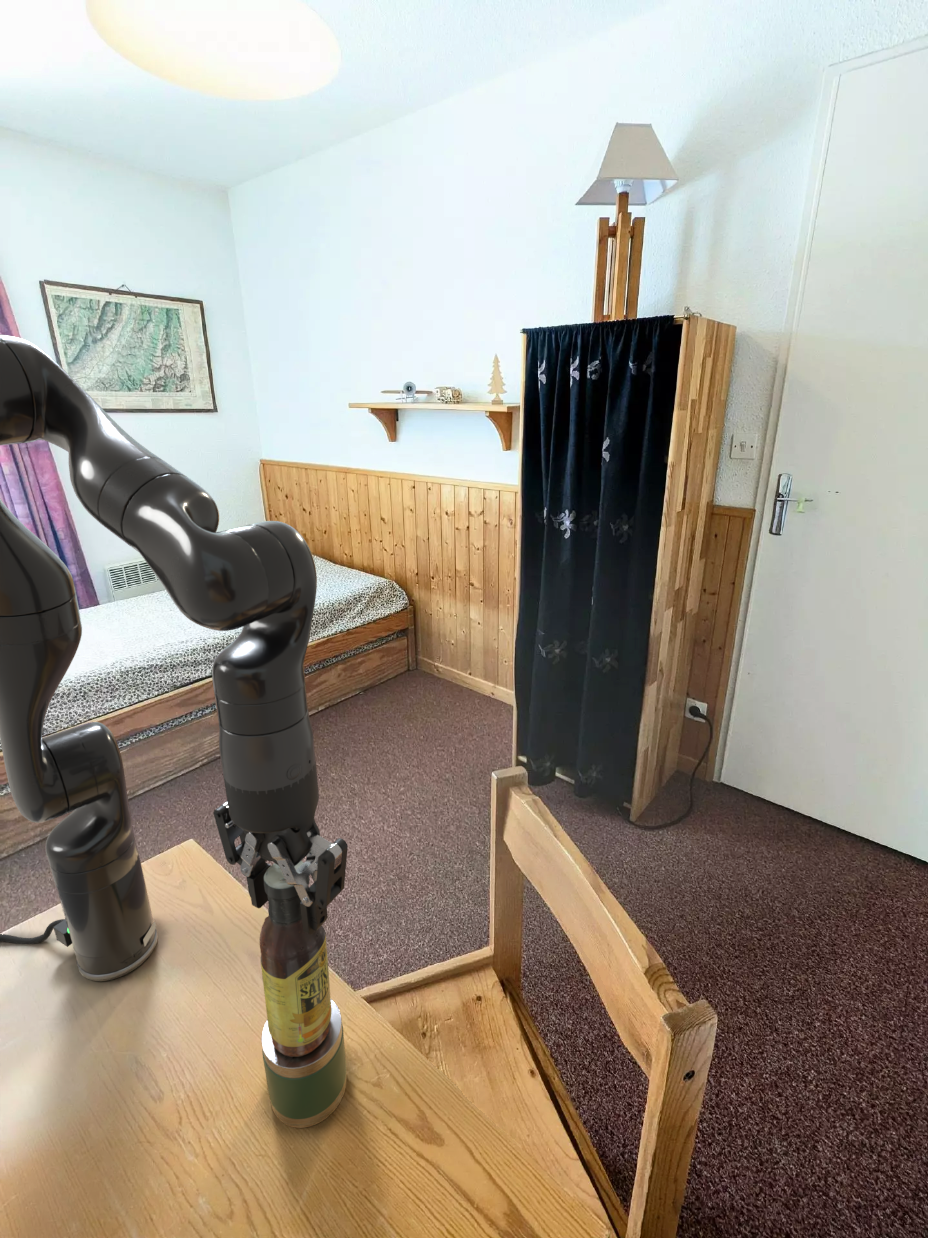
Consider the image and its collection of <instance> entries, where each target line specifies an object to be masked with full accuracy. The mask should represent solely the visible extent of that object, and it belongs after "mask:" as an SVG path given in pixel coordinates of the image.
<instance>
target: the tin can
mask: <svg viewBox="0 0 928 1238" xmlns="http://www.w3.org/2000/svg"><path fill="white" fill-rule="evenodd" d="M331 1009H332V1013H331V1019H330V1028H329V1032H328V1034H327V1035H326V1038H325V1040H324V1041H323V1042H322V1043H321V1044H320V1045H319V1046H318V1047H317V1048H316V1049H314V1050H313V1051H312V1052H310V1053H308V1054H306V1055H303V1056H300V1057H290V1056H287V1055H286V1056H285V1055H283V1054H282V1053H280V1052H279V1051H278V1050H277V1049H276V1048H275V1047H274V1045H273V1043H272V1038H271V1034H270V1032H269V1028H268V1019H267V1018H266V1021H265V1023H264V1025H263V1028H262V1031H261V1048H262V1049H261V1050H262V1051H261V1052H262V1061H263V1067H264V1073H265V1078H266V1079H265V1080H266V1086H267V1091H268V1097H269V1101H270V1105H271V1109H272V1112H273V1114H274V1115H275V1117H276V1118H277V1119H278V1120H279V1121H280V1122H281V1123H283V1124H284V1125H286V1126H287V1127H290V1128H296V1129H304V1128H305V1129H306V1128H310V1127H313V1126H316V1125H318V1124H320V1123H321V1122H322V1123H323V1122H324V1120H327V1118H329V1117H330V1116H331V1115H332V1114H333V1112H335V1110H337V1108H338V1107H339V1105H340V1103H341V1102H342V1099H343V1098H344V1095H345V1092H346V1088H347V1079H348V1078H347V1071H348V1069H347V1058H346V1057H347V1056H346V1047H345V1034H344V1026H343V1022H342V1014H341V1011H340V1008H339V1006H338V1005H337V1003H336V1002H335V1001H334V999H332V998H331Z"/></svg>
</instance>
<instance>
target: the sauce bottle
mask: <svg viewBox="0 0 928 1238" xmlns="http://www.w3.org/2000/svg"><path fill="white" fill-rule="evenodd" d="M304 862H305V861H303V860H301V861H300V862H299V863H298V864H297V865H296V866H294V867H295V869H296V870H297V869H298V868H299V867H300V866H301V865H302V864H303V863H304ZM306 881H307V884H308V886H309V885H310V882H311V878H310V876H309V877H308V878H307V880H306ZM264 887H265V892H266V894H267V895H268V901H267V904H268V908H267V909H268V910H267V911H268V915H267V916H266V917H265V918H264V921H263V923H262V925H261V928H260V933H259V949H260V967H261V968H260V970H261V977H262V985H263V986H262V987H263V994H264V1002H265V1011H266V1020H267V1019H268V1028H269V1032H270V1034H271V1038H272V1043H273V1045H274V1047H275V1048H276V1049H277V1050H278V1051H279V1052H280V1053H282V1054H283V1055H285V1056H286V1055H287V1056H290V1057H300V1056H303V1055H306V1054H308V1053H310V1052H312V1051H313V1050H314V1049H316V1048H317V1047H318V1046H319V1045H320V1044H321V1043H322V1042H323V1041H324V1040H325V1038H326V1035H327V1034H328V1032H329V1028H330V1019H331V1013H332V1009H331V999H332V996H331V985H330V972H329V958H328V948H327V947H328V946H327V945H328V944H327V933H326V929H325V928H324V927H323V925H322V926H321V927H320V928H319V929H318V930H317V931H315V932H314V933H313V934H312V935H309V934H307V933H305V932H304V931H303V924H302V915H301V906H300V902H301V900H300V897H299V895H298V893H297V891H296V889H295V887H294V885H289V884H287V882H286V880H285V878H284V875H283V873H282V871H281V869H280V867H279V866H278V865H277V864H276V863H274V862H273V864H271V866H270V867H269V868H268V869H267V871H266V873H265V875H264Z"/></svg>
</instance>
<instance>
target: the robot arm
mask: <svg viewBox="0 0 928 1238" xmlns="http://www.w3.org/2000/svg"><path fill="white" fill-rule="evenodd" d="M36 441H45V442H48V443H49V444H52V445H55V446H56V447H58V448H60V449H63V450H64V451H66V452H67V454H68V471H69V472H68V473H69V480H70V484H71V487H72V489H73V492H74V495H75V496H76V497H77V499H78V501H79V502H80V504H81V505H82V508H84V509H85V511H87V513H88V514H89V515H90V516H91V517H92V518H94V519H95V520H96V521H97V522H98V523H99V524H100V525H102V526H103V527H104V528H106V529H107V530H108V531H110V532H111V533H112V534H114V535H115V536H116V537H117V538H119V539H120V540H121V541H123V542H124V543H125V544H127V545H128V546H129V547H131V548H132V549H133V550H135V551H136V552H137V553H139V554H140V556H141V557H142V558H143V559H144V561H145V562H146V564H147V565H148V567H149V569H150V570H151V571H152V572H153V574H154V575H155V577H156V578H157V580H158V581H159V582H160V584H161V586H163V589H164V590H165V591H166V593H167V594H168V596H169V597H170V599H171V601H172V602H173V604H174V605H175V607H176V608H177V609H178V610H179V611H180V613H181V614H183V616H184V617H185V618H187V619H188V620H189V621H191V622H192V623H195V624H196V625H198V626H200V627H203V628H206V629H209V630H213V631H218V632H219V631H220V632H228V631H229V632H230V631H233V630H239V629H240V628H241V629H242V630H241V631H240V633H239V635H238V636H237V637H236V638H235V639H234V640H233V641H232V642H230V644H228V645H227V646H226V647H224V648H223V650H221V651H220V652H219V653H218V655H217V656H216V657H215V658H214V660H213V662H212V667H211V678H212V680H211V681H212V687H213V693H214V694H213V695H214V701H215V709H216V714H217V715H216V716H217V721H218V749H219V757H220V764H221V770H222V776H223V777H222V778H223V783H224V789H225V796H226V801H224V802H223V803H222V804H220V805H219V806H218V807H216V808H215V809H214V810H213V817H214V820H215V825H216V828H217V831H218V834H219V838H220V841H221V846H222V849H223V852H224V857H225V860H226V861H227V863H228V864H230V865H231V866H234V865H235V864H238V865H239V870H240V872H241V874H242V875H243V876H244V877H246V884H247V891H248V894H249V895H248V896H249V898H250V901H251V906H253V907H255V908H257V909H261V908H262V907H263V906H265V904H267V903H268V895H267V894H266V892H265V887H264V875H265V873H266V871H267V869H268V868H269V867H270V866H272V864H270V863H268V862H271V863H273V864H274V863H276V864H277V865H278V866H279V867H280V869H281V871H282V873H283V875H284V878H285V880H286V882H287V884H289V885H294V887H295V889H296V891H297V893H298V895H299V897H300V900H301V902H300V906H301V915H302V924H303V931H304V932H305V933H307V934H309V935H312V934H313V933H314V932H315V931H317V930H318V929H319V928H320V927H321V926H323V925H324V923H325V922H327V920H328V917H329V915H328V906H329V905H330V904H331V903H332V902H333V901H334V900H335V899H336V898H337V897H338V895H339V894H341V892H342V891H343V890H344V889H345V881H346V871H347V859H348V848H349V847H348V843H347V841H345V840H344V838H341V837H338V838H337V839H336V840H335V841H334V842H331V841H329V840H328V839H326V838H324V837H323V836H321V831H320V828H319V826H318V824H317V822H316V820H315V815H316V811H317V807H318V804H319V800H320V797H319V796H320V792H319V783H318V782H319V781H318V769H317V759H316V751H315V750H316V749H315V737H314V731H313V725H312V721H311V717H310V713H309V706H308V698H307V697H308V696H307V687H306V686H307V685H306V684H307V683H306V675H305V673H306V672H305V667H304V666H305V664H304V663H305V659H306V654H307V650H308V646H309V642H310V635H311V629H312V625H313V624H312V623H313V617H314V611H315V606H316V598H317V588H318V579H317V578H318V576H317V567H316V563H315V560H314V556H313V553H312V551H311V548H310V547H309V545H308V543H307V541H306V539H304V536H303V535H301V533H300V532H299V531H298V530H297V529H295V528H294V527H293V526H291V525H289V524H288V523H286V522H283V521H278V520H263V521H259V522H254V523H251V524H247V525H243V526H237V527H234V528H229V529H225V530H221V531H218V529H219V524H220V512H219V507H218V504H217V503H216V501H215V500H214V498H213V496H212V495H210V493H209V492H208V491H206V489H204V488H203V487H202V486H201V485H200V484H198V483H197V482H196V481H194V480H193V479H191V478H189V477H188V476H187V475H185V473H183V472H181V471H179V470H178V469H177V468H176V467H174V466H172V464H170V463H168V462H167V461H165V460H163V459H162V458H161V457H159V456H158V455H156V454H155V453H153V452H152V451H151V450H149V449H148V448H146V447H145V446H143V445H142V444H140V442H138V441H137V440H136V439H135V438H134V437H132V436H131V435H130V434H129V433H128V432H126V431H125V430H124V429H123V428H122V427H121V426H120V425H119V424H118V423H117V422H116V421H115V420H114V419H113V418H112V417H111V416H110V415H109V414H108V413H107V412H106V411H105V410H104V409H103V408H102V406H100V404H99V403H98V402H97V401H96V400H95V399H94V398H93V397H92V396H91V395H90V394H89V393H88V392H87V391H86V390H85V389H84V388H82V386H81V385H80V384H79V383H78V382H77V381H76V380H75V379H74V378H73V377H72V376H71V375H70V374H69V373H68V372H67V371H66V370H65V369H64V368H63V366H61V365H60V364H59V363H57V361H56V360H54V359H53V357H51V356H50V355H49V354H47V352H45V351H44V350H43V349H41V348H40V347H39V346H37V345H36V344H34V343H32V342H31V341H29V340H27V339H25V338H22V337H17V336H13V335H7V334H2V333H1V334H0V446H7V445H19V444H20V445H21V444H29V443H33V442H36ZM74 582H75V581H74V578H73V575H72V573H71V571H70V570H69V568H68V567H67V565H66V564H65V563H64V562H63V560H61V558H60V557H59V556H58V555H57V553H55V552H54V551H53V550H52V549H51V548H50V547H49V546H48V545H47V544H46V543H44V542H43V540H41V538H39V537H38V536H37V535H36V534H35V533H34V532H32V530H30V529H29V528H28V527H27V526H26V525H25V524H23V522H21V521H20V519H18V517H16V516H15V514H14V513H13V512H12V511H11V510H10V509H9V508H8V506H7V505H6V504H5V503H4V502H3V501H2V499H1V498H0V746H1V751H2V757H3V763H4V768H5V773H6V777H7V781H8V786H9V791H10V793H11V796H12V797H11V798H12V799H13V803H14V804H15V806H16V808H17V810H18V812H19V814H20V815H21V816H22V817H23V818H25V819H26V820H27V821H29V822H31V823H36V824H37V823H38V824H40V823H44V822H48V821H52V820H54V819H57V818H60V817H62V816H65V815H67V816H66V817H65V818H63V819H62V820H61V821H60V822H59V823H58V824H56V825H55V827H53V829H52V830H50V832H49V834H48V836H47V838H46V841H45V846H44V847H45V855H46V857H47V858H46V859H47V861H48V865H49V868H50V872H51V876H52V879H53V882H54V886H55V888H56V891H57V896H58V899H59V903H60V905H61V909H62V912H63V916H64V918H61V919H56V920H54V921H52V922H51V923H49V924H48V925H47V926H46V928H45V930H44V932H43V934H40V935H38V936H35V937H34V936H33V937H22V936H15V935H10V934H4V933H0V942H3V943H4V942H5V943H11V944H15V945H35V944H39V943H42V942H44V941H46V940H47V939H48V938H49V937H50V936H51V934H52V933H53V931H54V935H55V938H56V940H57V941H58V942H60V943H61V944H62V945H63V946H66V947H67V948H68V947H69V946H71V945H72V947H73V951H74V955H75V958H76V965H77V969H78V972H79V973H80V975H81V976H82V977H83V978H84V979H87V980H89V981H94V982H107V981H110V980H114V979H115V980H116V979H118V978H120V977H123V976H125V975H127V974H130V973H131V972H133V971H134V970H136V969H138V968H139V967H140V966H141V965H142V964H144V963H145V962H146V961H147V960H148V958H149V957H150V956H151V955H152V953H153V952H154V950H155V948H156V946H157V943H158V938H159V937H158V936H159V935H158V930H157V923H156V920H155V919H154V916H153V911H152V906H151V903H150V897H149V893H148V889H147V884H146V880H145V876H144V871H143V866H142V863H141V858H140V854H139V849H138V844H137V839H136V836H135V831H134V826H133V818H132V812H131V807H130V803H129V797H128V796H129V795H128V791H127V790H128V789H127V783H126V782H127V781H126V775H125V769H124V763H123V758H122V757H123V756H122V755H121V751H120V747H119V743H118V741H117V738H115V735H114V734H113V732H112V731H111V730H110V728H109V727H107V726H106V725H105V724H104V723H102V722H99V721H90V722H87V723H83V724H80V725H77V726H74V727H70V728H67V729H65V730H62V731H59V732H55V733H54V734H50V735H47V736H44V737H43V730H44V724H45V719H46V714H47V711H48V709H49V706H50V703H51V701H52V699H53V697H54V695H55V693H56V691H57V689H58V687H59V686H60V684H61V682H62V680H63V679H64V677H65V675H66V674H67V672H68V670H69V668H70V666H71V664H72V662H73V660H74V657H75V656H76V654H77V651H78V649H79V646H80V644H81V641H82V636H83V624H82V618H81V612H80V607H79V602H78V596H77V591H76V587H75V583H74ZM69 813H70V814H69ZM68 814H69V815H68ZM238 838H239V840H240V843H239V844H238V845H237V846H236V843H235V841H236V840H237V839H238ZM304 859H305V861H303V860H304ZM300 861H303V862H304V863H303V864H302V865H301V866H300V867H299V868H298V869H297V870H296V869H295V867H294V866H296V865H297V864H298V863H299V862H300ZM308 877H309V878H310V877H311V879H312V881H313V883H312V884H311V885H310V886H309V885H308V884H307V881H306V880H307V878H308ZM2 934H3V935H2Z"/></svg>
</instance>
